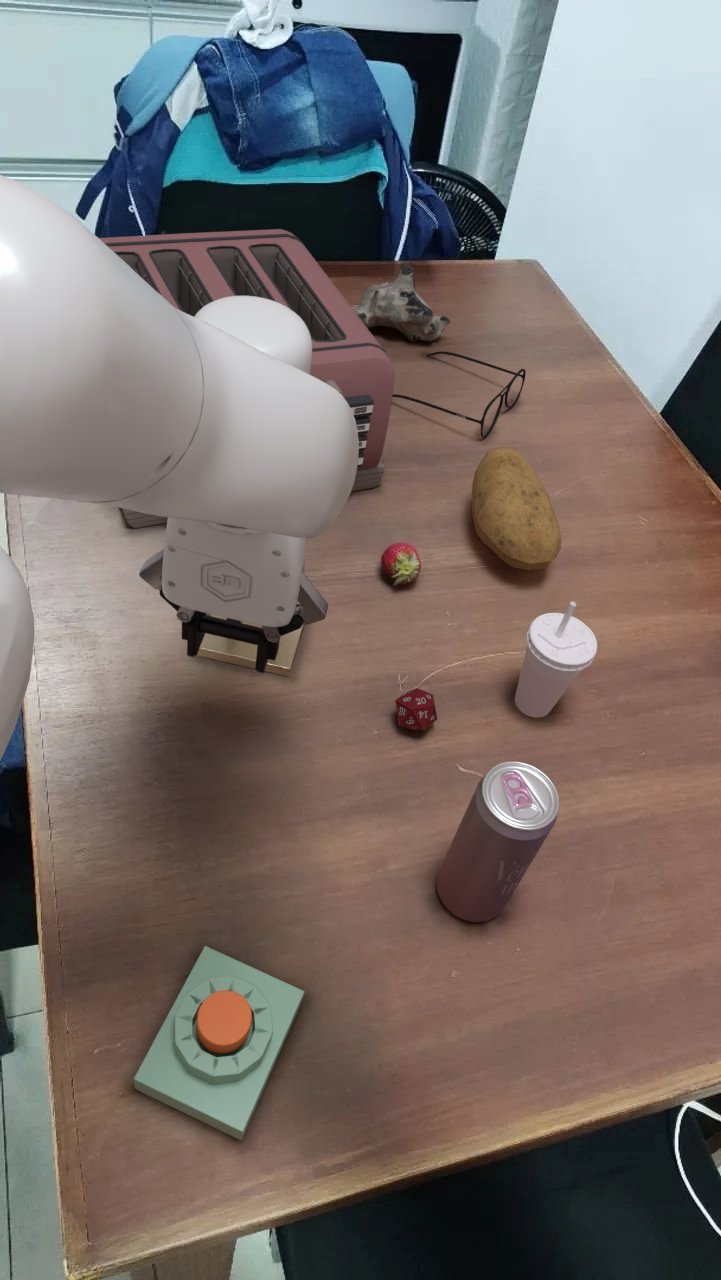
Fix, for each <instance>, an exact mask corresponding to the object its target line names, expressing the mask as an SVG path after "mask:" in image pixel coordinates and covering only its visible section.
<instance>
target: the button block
mask: <svg viewBox="0 0 721 1280" xmlns="http://www.w3.org/2000/svg"><path fill="white" fill-rule="evenodd" d="M223 990H228V991H234V992H236V993H238V994H240V995H241V996H243V997H244V998H245V999H246V1001H247V1002H248V1004H249V1006H250V1008H251V1013H252V1021H251V1027H250V1032H249V1035H248V1037H247V1039H246V1041H245V1042H244V1044H243V1045H242V1046H241V1047H239V1048H238V1049H237V1050H235V1051H233V1052H230V1053H225V1054H220V1053H215V1052H212V1051H210V1050H208V1049H207V1048H206V1047H205V1046H204V1045H203V1044H202V1043H201V1042H200V1040H199V1037H198V1034H197V1014H198V1010H199V1008H200V1006H201V1004H202V1003H203V1001H204V1000H205V999H206V998H207V997H208V996H210V995H211V994H213V993H215V992H218V991H223ZM304 996H305V990H304V989H300V988H298V987H297V986H295V985H293V984H290V983H288V982H285V981H283V980H281V979H279V978H277V977H274V976H272V975H270V974H268V973H266V972H263V971H261V970H259V969H257V968H255V967H254V966H250V965H248V964H247V963H244V962H242V961H240V960H238V959H235V958H233V957H231V956H229V955H227V954H224V953H222V952H220V951H218V950H215V949H214V948H211V947H209V946H208V945H204V946H203V948H202V950H201V952H200V954H199V956H198V958H197V959H196V961H195V962H194V965H193V967H192V968H191V971H190V972H189V974H188V976H187V978H186V980H185V982H184V984H183V986H182V988H181V989H180V991H179V993H178V995H177V997H176V998H175V1001H174V1002H173V1005H172V1006H171V1008H170V1010H169V1012H168V1013H167V1015H166V1017H165V1019H164V1021H163V1023H162V1025H161V1027H160V1028H159V1030H158V1032H157V1034H156V1036H155V1038H154V1040H153V1041H152V1044H151V1045H150V1047H149V1049H148V1051H147V1052H146V1055H145V1056H144V1058H143V1060H142V1062H141V1063H140V1066H139V1068H138V1070H137V1071H136V1073H135V1075H134V1077H133V1085H134V1086H133V1087H134V1090H136V1091H138V1092H140V1093H142V1094H144V1095H147V1096H148V1097H150V1098H153V1099H155V1100H157V1101H159V1102H161V1103H163V1104H165V1105H166V1106H169V1107H171V1108H173V1109H174V1110H177V1111H180V1113H183V1114H185V1115H188V1116H190V1117H191V1118H194V1119H196V1120H198V1121H199V1122H202V1123H204V1124H206V1125H208V1126H210V1127H212V1128H214V1129H216V1130H218V1131H220V1132H223V1133H224V1134H226V1135H229V1136H231V1137H232V1138H234V1139H237V1140H239V1141H242V1140H243V1138H244V1137H245V1133H246V1132H247V1129H248V1128H249V1127H248V1126H249V1124H250V1122H251V1120H252V1117H253V1115H254V1113H255V1110H256V1108H257V1106H258V1104H259V1101H260V1100H261V1096H262V1094H263V1092H264V1090H265V1088H266V1085H267V1084H268V1081H269V1079H270V1076H271V1074H272V1071H273V1070H274V1067H275V1065H276V1062H277V1060H278V1057H279V1056H280V1053H281V1051H282V1048H283V1047H284V1045H285V1042H286V1039H287V1037H288V1035H289V1032H290V1030H291V1028H292V1025H293V1023H294V1022H295V1019H296V1017H297V1014H298V1012H299V1009H300V1007H301V1005H302V1002H303V999H304Z"/></svg>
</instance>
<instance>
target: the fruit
mask: <svg viewBox="0 0 721 1280" xmlns="http://www.w3.org/2000/svg"><path fill="white" fill-rule="evenodd" d="M380 561H381V565H382V567H383V569H384V572H385V573H386V575H387V576H388V577H389V578H390V579H391V580H392V582H394V583H393V586H397V585H399V584H407V583H411V582H412V581H415V580H416V578H417V577H418V576H419V574H420V573H421V569H422V560H421V558H420V555H419V553H418V551H417V549H416V548H415V547H414V546H413V545H412V544H409V543H407V542H396V543H392V544H391V545H389V546H388V547H387V548H386V549H385V550H384V552H383V553H382V554H381V558H380Z"/></svg>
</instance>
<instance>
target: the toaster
mask: <svg viewBox="0 0 721 1280" xmlns="http://www.w3.org/2000/svg"><path fill="white" fill-rule="evenodd" d="M98 238H99V239H100V240H101V241H102V242H103V243H104V244H105V245H107V246H108V247H109V248H110V249H111V250H112V251H113V252H114V253H115V254H117V255H118V256H119V257H120V258H121V259H122V260H123V261H124V262H125V263H126V264H128V265H129V266H130V267H131V268H132V269H133V270H134V271H135V272H136V273H137V274H138V275H139V276H140V277H141V278H142V279H143V280H145V281H146V282H147V283H148V284H149V285H150V286H151V287H152V288H153V289H154V290H155V291H157V292H158V293H159V294H160V295H162V296H163V297H164V298H165V299H166V300H167V301H168V302H169V303H170V304H171V305H172V306H174V307H175V308H176V309H178V310H180V311H182V312H184V313H186V314H189V315H191V316H193V317H194V316H195V315H196V314H197V312H198V311H199V310H200V309H201V308H203V307H204V306H205V305H207V304H209V303H211V302H213V301H215V300H218V299H221V298H225V297H230V296H255V297H261V298H265V299H269V300H273V301H275V302H278V303H280V304H282V305H284V306H286V307H288V308H289V309H291V310H292V311H293V312H295V313H296V314H297V315H298V316H299V317H300V318H301V319H302V320H303V321H304V323H305V325H306V326H307V328H308V330H309V333H310V336H311V340H312V361H311V369H310V375H311V376H313V377H315V378H317V379H319V380H321V381H323V382H325V383H326V384H328V385H330V386H331V387H333V388H334V389H336V390H337V391H338V392H339V393H340V394H341V395H342V396H343V397H344V399H345V400H346V401H347V403H348V405H349V406H350V408H351V411H352V413H353V415H354V418H355V421H356V426H357V430H358V439H359V454H358V464H357V471H356V476H355V481H354V484H353V487H352V490H351V492H356V491H361V490H362V491H363V490H368V489H374V488H376V487H378V485H379V484H380V483H381V481H382V479H383V477H384V473H385V472H384V471H385V465H384V464H383V462H382V460H381V459H382V455H383V453H384V452H383V451H384V447H385V442H386V437H387V433H388V427H389V422H390V421H389V420H390V415H391V409H392V403H393V397H392V395H393V394H394V386H395V385H394V384H395V369H394V365H393V363H392V361H391V359H390V357H389V355H388V353H387V351H386V349H385V348H383V347H382V346H381V344H380V343H379V342H378V340H377V339H376V337H375V336H374V335H373V334H372V332H371V331H370V329H369V328H367V327H366V326H365V325H364V323H363V322H362V321H361V319H360V318H359V317H358V315H357V314H356V313H355V312H354V310H353V309H352V308H351V306H352V305H350V304H349V302H348V301H347V300H346V298H345V297H344V296H343V294H342V293H341V292H340V291H339V290H338V288H337V286H336V285H335V284H334V283H333V281H332V280H331V279H330V277H329V276H328V275H327V274H326V272H325V271H324V270H323V268H322V267H321V265H320V264H319V263H318V262H317V261H316V259H315V258H314V256H313V255H312V254H311V252H310V251H309V249H307V247H306V246H305V244H304V242H303V241H302V240H301V239H300V238H299V237H298V236H296V235H295V234H293V233H292V232H290V231H288V230H285V229H282V228H273V229H253V230H252V229H251V230H232V231H231V230H229V231H209V232H207V231H206V232H185V233H169V234H166V233H165V234H150V235H149V234H148V235H147V234H146V235H132V236H131V235H130V236H113V237H112V236H111V237H98ZM121 510H122V512H123V515H124V518H125V520H126V522H127V524H128V525H129V526H130V527H131V528H132V529H138V528H145V527H150V526H155V525H161V524H163V525H164V524H167V520H168V517H162V516H156V515H150V514H146V513H141V512H137V511H133V510H129V509H124V508H121Z"/></svg>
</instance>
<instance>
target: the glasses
mask: <svg viewBox="0 0 721 1280" xmlns="http://www.w3.org/2000/svg"><path fill="white" fill-rule="evenodd" d="M435 355H446V356H447V355H448V356H453V357H457V358H460V359H464V360H467V361H469V362H470V361H471V362H474V363H477V364H479V365H482V366H485V367H488V368H492V369H494V370H498V371H500V372H504V373H506V374H507V373H508V374H511V375H514V376H513V377H512V378H511V380H510V381H509V382H508V383H507V384H506V386H505V387H504V388H503V389H502V390H501V391H500V392H499V393H498V394H497V395H495V396H493V398H492V399H491V400H490V401H489V403H488V404H487V405H486V407H485V409H484V411H483V413H482V417H481V419H480V420H479V419H475V418H472V417H470V416H467V415H464V414H461V413H459V412H455V411H452V410H450V409H447V408H444V407H441V406H438V405H435V404H433V403H430V402H427V401H424V400H420V399H418V398H414V397H410V396H407V395H402V394H396V393H393V395H392V398H399V399H405V400H408V401H411V402H415V403H417V404H420V405H424V406H427V407H429V408H433V409H435V410H439V411H441V412H444V413H447V414H450V415H453V416H456V417H459V418H462V419H465V420H467V421H471V422H474V423H477V424H479V425H480V436H481V437H482V438H486V437H488V435H489V434H490V433H491V431H492V430H493V428H494V426H495V424H496V423H497V420H498V418H499V416H500V413H501V411H502V407H503V403H504V405H505V407H506V408H509V409H511V408H513V407H514V406H515V405H516V404H517V402H518V400H519V398H520V396H521V393H522V391H523V388H524V384H525V380H526V373H527V372H526V369H525V368H520V369H519V370H518V371H517V372H514V371H512V370H508V369H506V368H502V367H499V366H496V365H495V364H490V363H487V362H485V361H482V360H478V359H475V358H472V357H469V356H466V355H463V354H458V353H456V352H450V351H443V350H441V351H435V352H431V353H428V354H426V357H431V356H435ZM518 377H520V378H521V379H522V382H521V386H520V389H519V391H518V394H517V396H516V398H515V400H514V401H513V402H512V403H511V405H508V403H509V402H508V396H509V392H510V390H511V387H512V385H513V383H514V381H515V380H516V379H517V378H518ZM499 397H500V400H499V404H498V407H497V410H496V412H495V415H494V418H493V420H492V423H491V424H490V426H489V429H488V430H487V431H486V433H485V434H484V435H483V431H484V430H483V429H484V425H485V420H486V419H485V418H486V416H487V413H488V411H489V410H490V408H491V406H493V404H494V402H495V401H496V400H497V399H498V398H499Z"/></svg>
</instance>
